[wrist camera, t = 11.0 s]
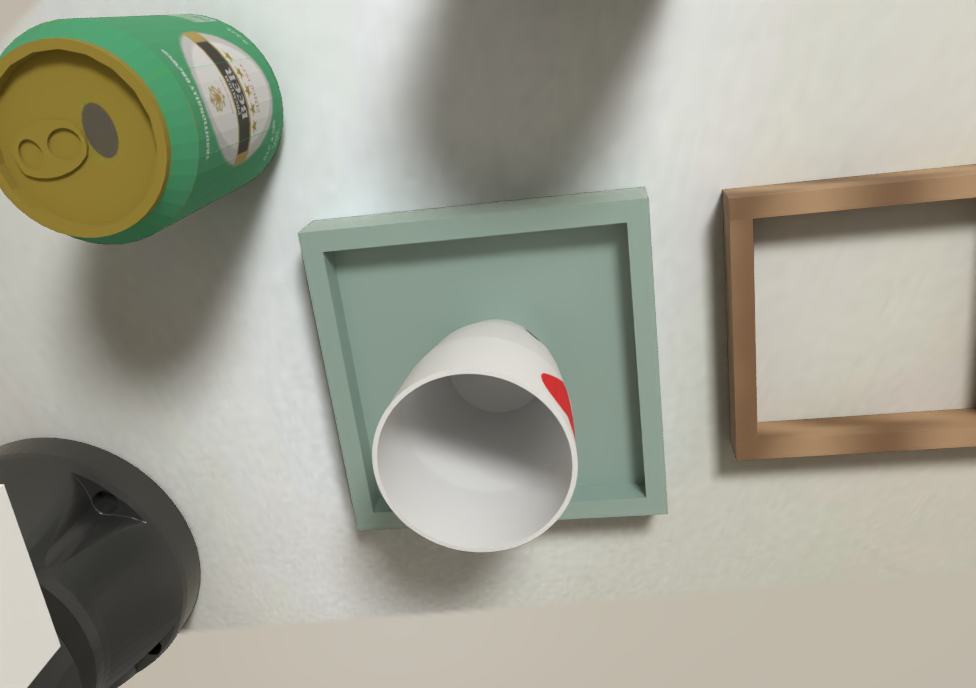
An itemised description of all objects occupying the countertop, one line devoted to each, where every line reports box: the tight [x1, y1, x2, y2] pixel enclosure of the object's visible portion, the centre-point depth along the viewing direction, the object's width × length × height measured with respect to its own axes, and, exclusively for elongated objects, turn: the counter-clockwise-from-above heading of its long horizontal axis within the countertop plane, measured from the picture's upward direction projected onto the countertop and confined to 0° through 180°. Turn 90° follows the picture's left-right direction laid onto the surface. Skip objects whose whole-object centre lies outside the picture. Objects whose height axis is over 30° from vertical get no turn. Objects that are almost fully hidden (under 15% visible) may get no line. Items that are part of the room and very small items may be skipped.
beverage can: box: [0, 14, 283, 244], centre depth 36 cm, size 8×8×12 cm
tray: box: [298, 187, 668, 530], centre depth 44 cm, size 16×16×2 cm
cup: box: [372, 319, 578, 552], centre depth 40 cm, size 8×8×10 cm
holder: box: [723, 164, 976, 461], centre depth 41 cm, size 13×13×2 cm
